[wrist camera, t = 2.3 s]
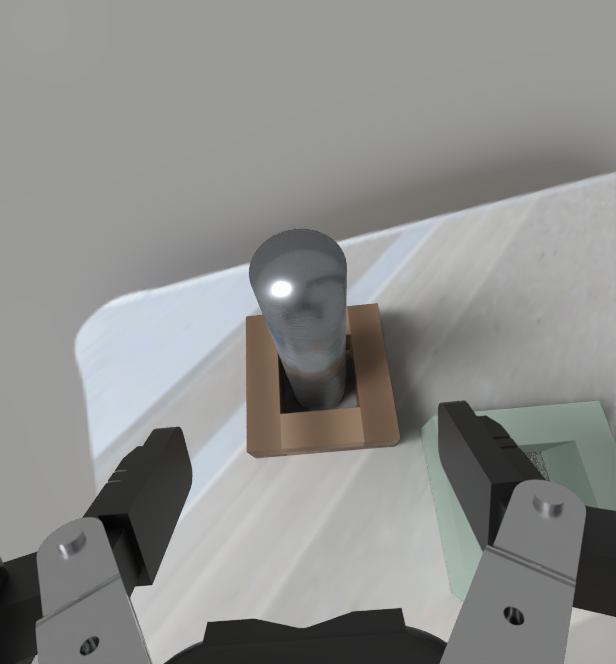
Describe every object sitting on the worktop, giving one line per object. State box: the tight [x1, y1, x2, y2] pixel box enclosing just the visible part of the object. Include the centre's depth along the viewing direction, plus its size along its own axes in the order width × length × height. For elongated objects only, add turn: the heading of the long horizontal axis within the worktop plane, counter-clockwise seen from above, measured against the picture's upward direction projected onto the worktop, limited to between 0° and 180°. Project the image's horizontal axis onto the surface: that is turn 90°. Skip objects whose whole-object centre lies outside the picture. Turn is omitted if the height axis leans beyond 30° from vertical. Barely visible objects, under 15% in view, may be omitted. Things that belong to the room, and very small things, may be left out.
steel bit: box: [249, 229, 347, 411], centre depth 23 cm, size 4×4×16 cm
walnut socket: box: [246, 303, 400, 458], centre depth 29 cm, size 10×10×3 cm
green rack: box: [421, 401, 616, 602], centre depth 24 cm, size 10×10×4 cm
